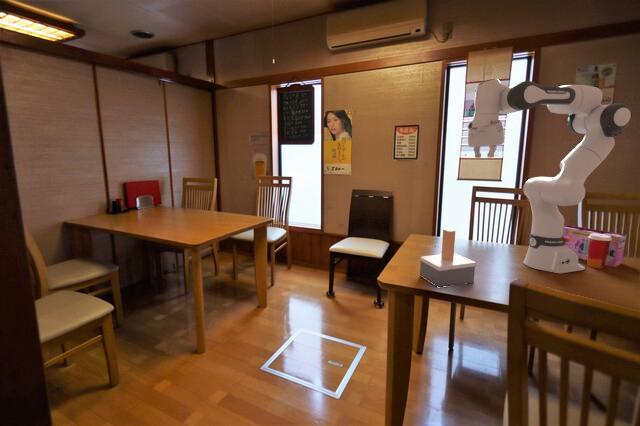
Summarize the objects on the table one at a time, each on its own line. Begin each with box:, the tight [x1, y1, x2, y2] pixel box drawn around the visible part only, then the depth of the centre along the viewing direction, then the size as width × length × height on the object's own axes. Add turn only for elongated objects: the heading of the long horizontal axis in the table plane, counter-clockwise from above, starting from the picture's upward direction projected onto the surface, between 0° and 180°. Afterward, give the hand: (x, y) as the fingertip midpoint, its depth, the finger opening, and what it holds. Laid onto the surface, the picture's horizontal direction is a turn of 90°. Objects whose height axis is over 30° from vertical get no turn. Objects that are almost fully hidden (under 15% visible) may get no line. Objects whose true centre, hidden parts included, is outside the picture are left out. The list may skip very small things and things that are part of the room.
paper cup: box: [586, 233, 612, 269], centre depth 136 cm, size 8×8×14 cm
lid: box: [419, 228, 477, 271], centre depth 123 cm, size 16×12×15 cm
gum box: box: [562, 224, 628, 268], centre depth 147 cm, size 24×8×14 cm, turn 29°
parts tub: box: [419, 261, 476, 287], centre depth 125 cm, size 16×12×7 cm
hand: (484, 157), depth 127 cm, fingers open, 8 cm apart
